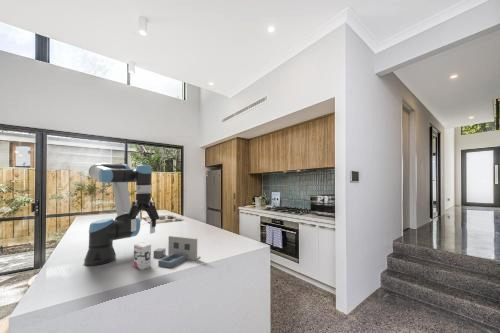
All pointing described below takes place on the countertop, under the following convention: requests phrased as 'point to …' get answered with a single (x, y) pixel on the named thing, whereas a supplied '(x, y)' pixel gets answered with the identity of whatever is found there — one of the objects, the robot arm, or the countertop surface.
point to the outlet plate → (183, 247)
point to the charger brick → (159, 253)
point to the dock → (172, 260)
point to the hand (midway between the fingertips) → (142, 232)
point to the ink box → (142, 255)
